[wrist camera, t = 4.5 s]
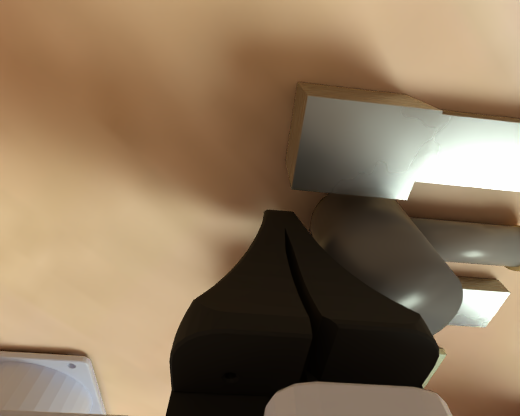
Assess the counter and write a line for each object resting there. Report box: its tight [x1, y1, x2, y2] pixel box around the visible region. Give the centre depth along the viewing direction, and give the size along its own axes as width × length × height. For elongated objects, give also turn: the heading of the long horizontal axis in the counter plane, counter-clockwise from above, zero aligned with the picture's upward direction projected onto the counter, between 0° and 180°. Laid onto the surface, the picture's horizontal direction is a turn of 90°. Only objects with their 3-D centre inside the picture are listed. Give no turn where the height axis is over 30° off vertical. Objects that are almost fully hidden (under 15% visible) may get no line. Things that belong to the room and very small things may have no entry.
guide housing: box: [285, 82, 520, 327], centre depth 13 cm, size 12×11×3 cm
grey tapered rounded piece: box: [311, 193, 520, 335], centre depth 12 cm, size 10×4×5 cm, turn 84°
